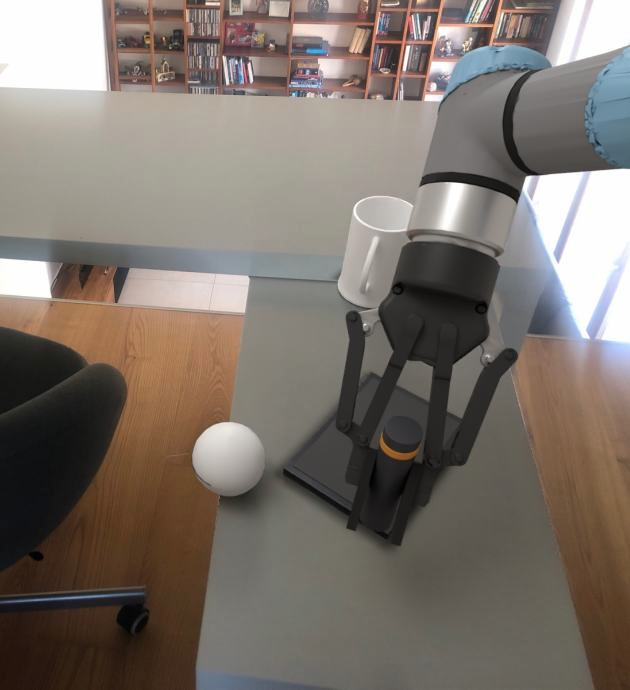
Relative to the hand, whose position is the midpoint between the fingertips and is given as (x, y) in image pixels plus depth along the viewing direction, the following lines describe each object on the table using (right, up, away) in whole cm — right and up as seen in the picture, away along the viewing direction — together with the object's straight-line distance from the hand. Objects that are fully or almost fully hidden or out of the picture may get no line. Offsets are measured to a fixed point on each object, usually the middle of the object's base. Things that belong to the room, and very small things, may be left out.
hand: (373, 533), depth 55 cm
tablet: (+6, +4, +18) cm, 20 cm away
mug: (+10, +22, +37) cm, 44 cm away
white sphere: (-12, +1, +16) cm, 20 cm away
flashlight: (+2, 0, +5) cm, 5 cm away
